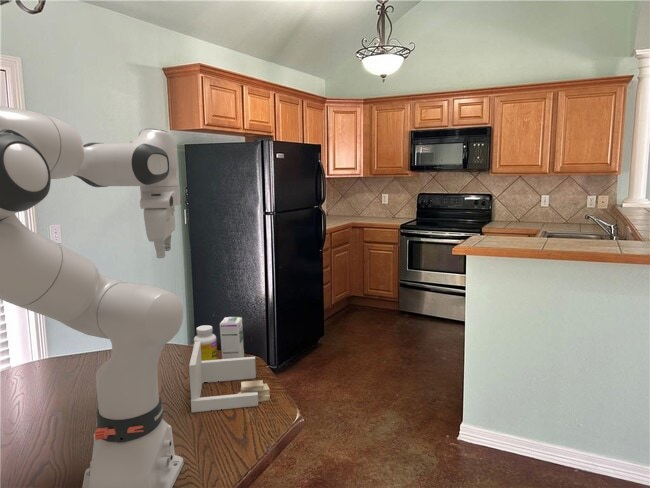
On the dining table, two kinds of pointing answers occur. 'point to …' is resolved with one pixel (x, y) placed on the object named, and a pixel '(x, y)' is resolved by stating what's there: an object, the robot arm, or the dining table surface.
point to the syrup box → (232, 337)
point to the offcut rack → (220, 372)
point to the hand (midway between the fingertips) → (164, 254)
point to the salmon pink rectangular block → (159, 377)
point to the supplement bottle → (207, 342)
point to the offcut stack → (256, 389)
